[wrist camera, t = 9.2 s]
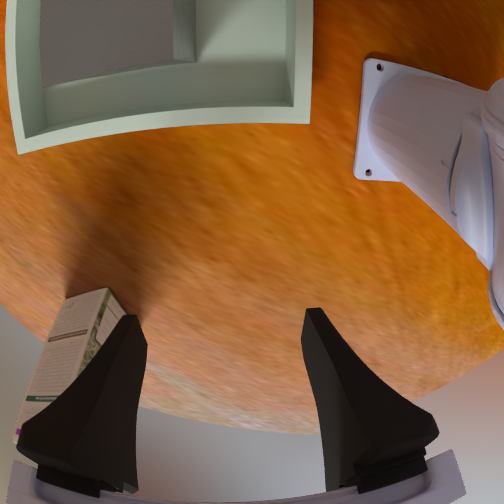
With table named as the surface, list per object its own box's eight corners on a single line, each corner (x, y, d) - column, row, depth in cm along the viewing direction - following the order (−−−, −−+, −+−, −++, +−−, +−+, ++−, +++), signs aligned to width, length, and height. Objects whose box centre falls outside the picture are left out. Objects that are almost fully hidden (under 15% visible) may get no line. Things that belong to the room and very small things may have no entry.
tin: (196, -18, 11) (175, -66, 5) (196, 62, 13) (173, 59, 8) (107, -2, 10) (43, -27, 5) (109, 74, 13) (42, 88, 7)
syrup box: (62, 298, 23) (7, 441, 11) (110, 283, 23) (57, 453, 11) (96, 338, 26) (62, 472, 15) (143, 328, 26) (118, 482, 14)
